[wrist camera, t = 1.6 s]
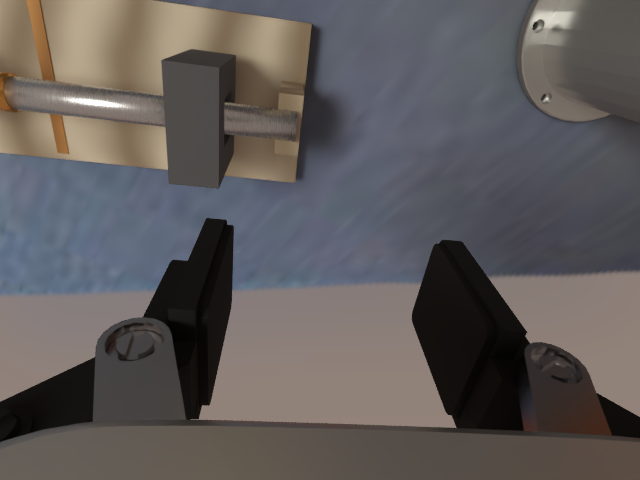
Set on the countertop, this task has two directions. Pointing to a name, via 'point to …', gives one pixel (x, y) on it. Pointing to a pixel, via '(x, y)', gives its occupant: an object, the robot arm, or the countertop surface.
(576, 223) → the countertop surface
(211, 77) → the collar
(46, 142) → the pipe stand
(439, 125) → the countertop surface
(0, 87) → the pipe
